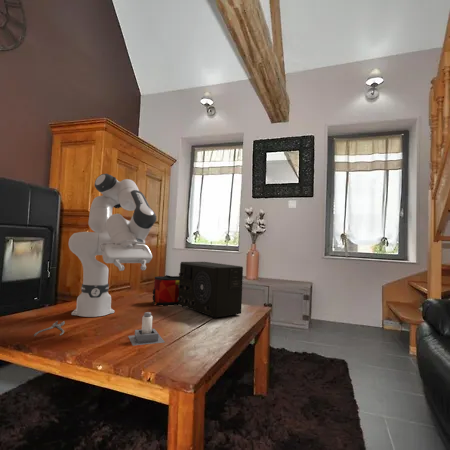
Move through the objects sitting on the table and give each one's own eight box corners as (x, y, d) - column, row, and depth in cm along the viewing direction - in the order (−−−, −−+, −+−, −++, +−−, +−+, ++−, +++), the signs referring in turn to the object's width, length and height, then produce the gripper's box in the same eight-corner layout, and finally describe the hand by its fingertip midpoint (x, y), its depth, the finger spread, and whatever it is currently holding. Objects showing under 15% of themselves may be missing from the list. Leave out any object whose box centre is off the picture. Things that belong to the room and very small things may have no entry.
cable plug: (140, 337, 110) (141, 312, 110) (150, 337, 111) (151, 311, 112) (142, 340, 106) (143, 314, 107) (152, 340, 108) (153, 313, 108)
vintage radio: (171, 305, 172) (174, 261, 174) (200, 302, 184) (202, 261, 186) (211, 320, 143) (213, 267, 144) (242, 315, 155) (243, 266, 157)
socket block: (128, 338, 111) (128, 328, 112) (157, 336, 116) (158, 326, 116) (132, 348, 101) (133, 337, 102) (164, 345, 106) (165, 335, 106)
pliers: (33, 336, 108) (38, 322, 126) (32, 339, 108) (38, 324, 126) (64, 334, 112) (65, 320, 130) (63, 336, 112) (65, 322, 130)
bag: (192, 299, 195) (193, 273, 196) (203, 303, 183) (204, 275, 184) (146, 302, 178) (148, 274, 179) (155, 307, 166) (157, 277, 167)
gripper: (101, 237, 120) (110, 264, 112) (147, 240, 134) (158, 264, 126) (96, 248, 123) (104, 275, 115) (142, 249, 137) (152, 273, 129)
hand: (133, 269), depth 121 cm, fingers open, 8 cm apart
